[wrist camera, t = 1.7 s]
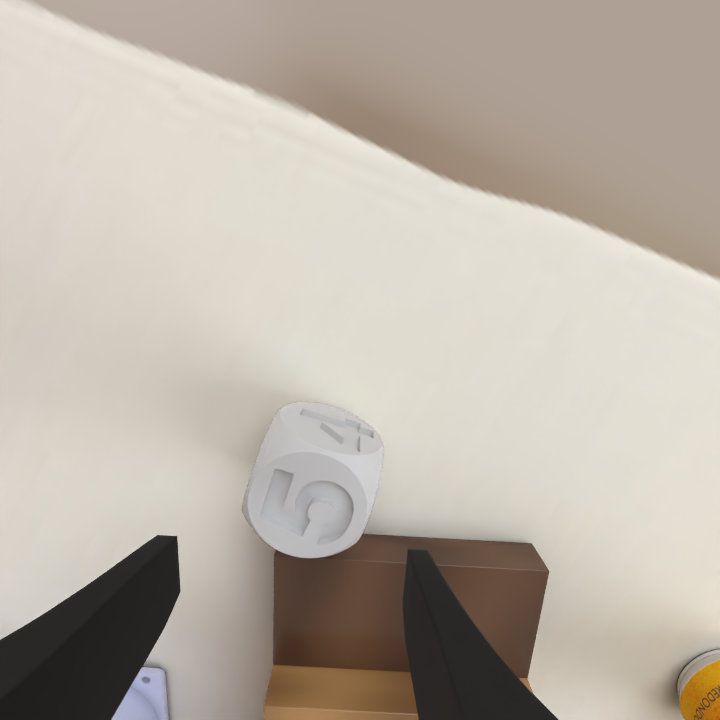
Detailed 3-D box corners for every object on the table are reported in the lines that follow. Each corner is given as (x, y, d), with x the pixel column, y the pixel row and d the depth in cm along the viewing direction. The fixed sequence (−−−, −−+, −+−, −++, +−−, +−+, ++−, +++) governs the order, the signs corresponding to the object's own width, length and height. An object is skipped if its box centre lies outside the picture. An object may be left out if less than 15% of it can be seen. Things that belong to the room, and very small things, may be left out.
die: (289, 391, 19) (263, 431, 14) (381, 421, 19) (388, 471, 14) (262, 475, 20) (230, 540, 15) (351, 502, 20) (347, 574, 15)
